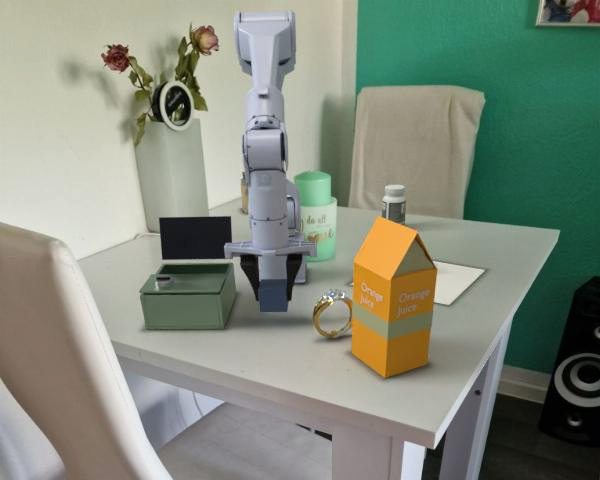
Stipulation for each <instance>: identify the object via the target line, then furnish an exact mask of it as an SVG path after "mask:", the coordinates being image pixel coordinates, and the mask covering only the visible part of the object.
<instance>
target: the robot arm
mask: <svg viewBox="0 0 600 480" xmlns="http://www.w3.org/2000/svg"><path fill="white" fill-rule="evenodd" d="M296 26H297V25H296V13H295V12H294V10H293V9H288V10H277V11H276V10H275V11H274V10H273V11H271V10H270V11H246V12H245V11H243V12H242V11H241V10H240V11H239V10H238V11H236V12H235V14H234V15H233V36H234V45H235V52H236V55H237V58H238V63H239V66H240V67H241V71H242V73H244V74H246V75H249V76H250V77H252V85H253V86H252V87H251V88H250V89H249V91H247V94H246V97H245V134H244V133H242V134H241V139H240V147H241V149H240V151H241V159H242V160H241V161H242V166H243V170H244V172H245V176H246V185H247V186H248V188H249V189H248V192H249V194H248V197H249V202H248V213H247V214H248V215H247V216H248V224H249V229H250V231H251V240H244V241H235V242H232V243H226V244H225V246H224V251H225V258H226V259H225V260H231V259H230V258H232V257H233V258H240V261H239V266H240V268H241V270H242V271H243V273H244V275H245V276H246V278H247V280H248V282H249V284H250V286H251V288H252V291H253V294H254V297H255V298H254V299H255V301H256V302H259V298H258V288H259V284H260V280H261V279H287V301H289V302H292V298H293V290H294V286H295V284H304V283H305V284H306V276H307V271H308V261H307V257H309V258H317V257H318V242H317V241H311V240H310V241H309V240H306V233H305V232H303V231H302V232H300V229H301V228H302V207H301V198H300V197H301V195H300V194H301V193H300V189H299V187H298V186H297V185H296V184H295V183H293V182H292V181H291V180H289V179H288V178H287V172H288V169H289V141H288V140H289V139H288V134H287V129H286V123H285V97H284V94H283V92H282V91H283V86H284V81H285V77H286V76H287V75H288V74H290V73H292V72H293V71H295V66H296V64H297V55H296V54H297V27H296Z"/></svg>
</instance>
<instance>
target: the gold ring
mask: <svg viewBox="0 0 600 480" xmlns="http://www.w3.org/2000/svg"><path fill="white" fill-rule="evenodd" d="M346 293H347V291H346V290H344V291H343V292H342V289H339V290H338V288H335V290H333V288H330V289H329V291H327V292H325V293H324V294H323V295H322V296H320V298H319V299H318V300H317V301H316V302H315V305H314V308H313V311H312V317H311V318H312V319H311V320H312V323H313V326H314V328H315V330H316V331H317V333H318V334H320V335H321V336H323V337H325V338H330V339H331V338H332V339H333V340H336V339H338V337H342V336H344V335H345V334H347V333H348V332H349V331H350V330H352V318H353V317H352V302H353V299H351V298H350V297H348V296H346ZM338 301H341V302H343V303H344V304H346V305H347V307H348V309H349V318H348V321H347V323H346V324H345V326H343V327H342V328H341V329H339V330H331V331H330V332H329V331H325V330H323V328H321V327H320V325H319V320H320V316H321V315H322V313H323V312H324V311H325V310H326V309H327V308H329V307H330V306H332V304H333V303H334V302H338Z"/></svg>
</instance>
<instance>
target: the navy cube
mask: <svg viewBox="0 0 600 480" xmlns="http://www.w3.org/2000/svg"><path fill="white" fill-rule="evenodd" d="M258 298H259V301H258V309H259V313H288V310H289V305H290V301H287V279H261V280H260V284H259V288H258Z"/></svg>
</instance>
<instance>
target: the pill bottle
mask: <svg viewBox="0 0 600 480" xmlns="http://www.w3.org/2000/svg"><path fill="white" fill-rule="evenodd" d="M405 192H406V186H405V185H403V184H388V185H386V186H385V187H384V193H385V195H384V196H383V197H382V207H381V217H382V218H385V219H388V220H390V221H393V222H395V223H398V224H401V225H403V226H405V224H406V210H407V209H406V208H407V198H406V196H405V195H404V194H405Z"/></svg>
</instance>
